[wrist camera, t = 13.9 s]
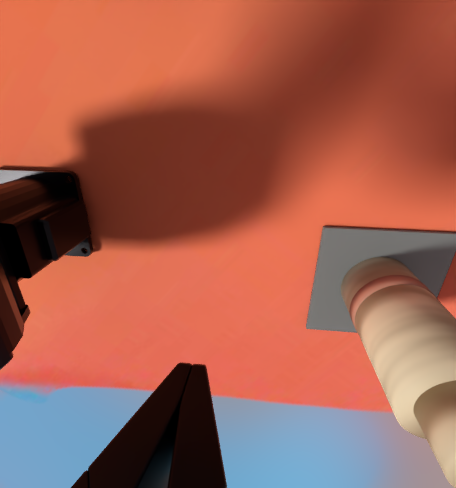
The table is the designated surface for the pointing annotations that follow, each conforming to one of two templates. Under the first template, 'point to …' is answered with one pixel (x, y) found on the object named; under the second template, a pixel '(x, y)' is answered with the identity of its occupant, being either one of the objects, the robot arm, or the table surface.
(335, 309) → the mat
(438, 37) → the table surface
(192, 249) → the table surface
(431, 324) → the skittle
